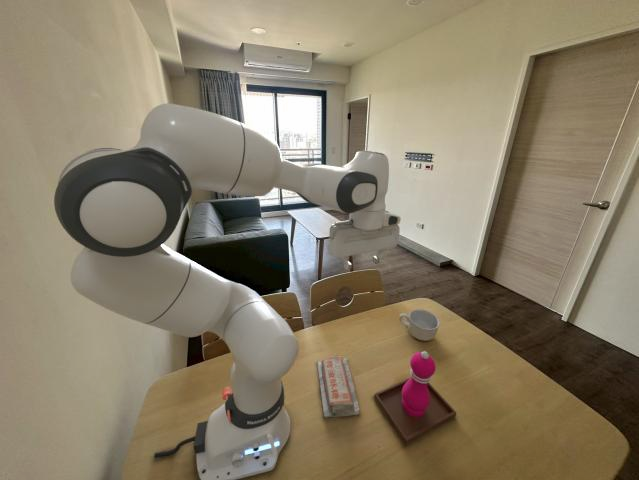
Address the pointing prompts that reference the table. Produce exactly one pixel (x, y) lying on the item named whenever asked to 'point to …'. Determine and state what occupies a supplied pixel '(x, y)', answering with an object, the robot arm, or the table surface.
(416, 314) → the teacup
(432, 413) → the tray
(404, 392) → the pepper mill
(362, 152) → the robot arm
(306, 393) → the table surface
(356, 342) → the table surface
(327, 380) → the packaged product
